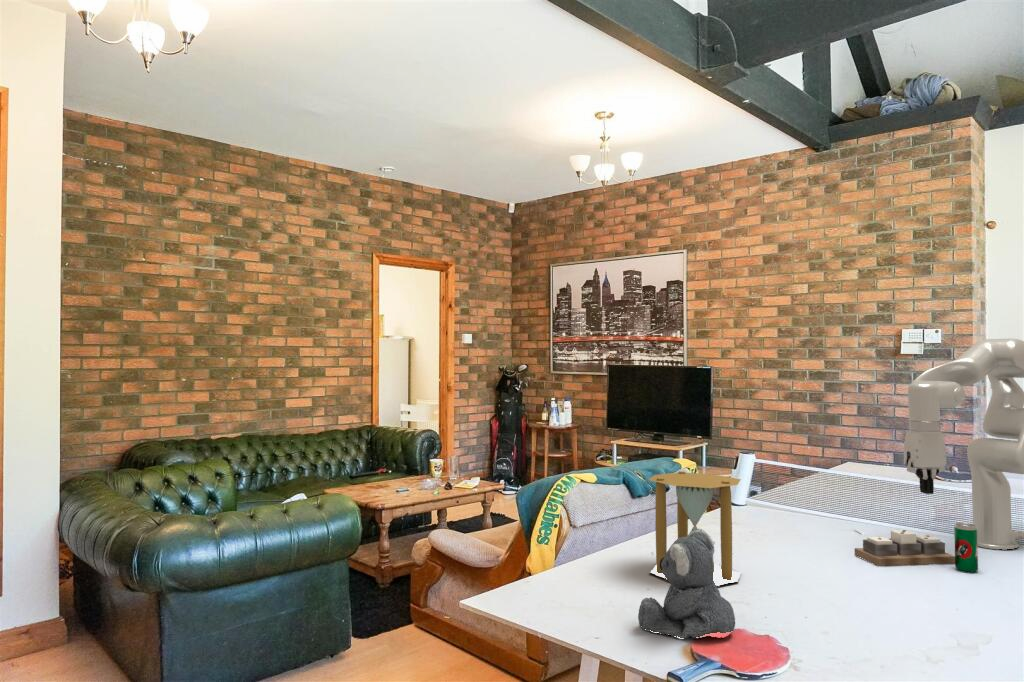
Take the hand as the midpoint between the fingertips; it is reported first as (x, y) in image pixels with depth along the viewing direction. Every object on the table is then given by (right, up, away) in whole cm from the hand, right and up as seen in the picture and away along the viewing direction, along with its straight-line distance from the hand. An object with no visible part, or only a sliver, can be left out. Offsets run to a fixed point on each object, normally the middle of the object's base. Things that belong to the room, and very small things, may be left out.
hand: (926, 492), depth 194 cm
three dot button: (-7, -14, -1) cm, 16 cm away
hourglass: (-68, -18, -14) cm, 72 cm away
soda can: (+3, -18, -12) cm, 22 cm away
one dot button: (-14, -16, -2) cm, 21 cm away
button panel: (-7, -18, -1) cm, 20 cm away
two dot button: (0, -16, -1) cm, 16 cm away
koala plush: (-79, -17, -50) cm, 95 cm away
